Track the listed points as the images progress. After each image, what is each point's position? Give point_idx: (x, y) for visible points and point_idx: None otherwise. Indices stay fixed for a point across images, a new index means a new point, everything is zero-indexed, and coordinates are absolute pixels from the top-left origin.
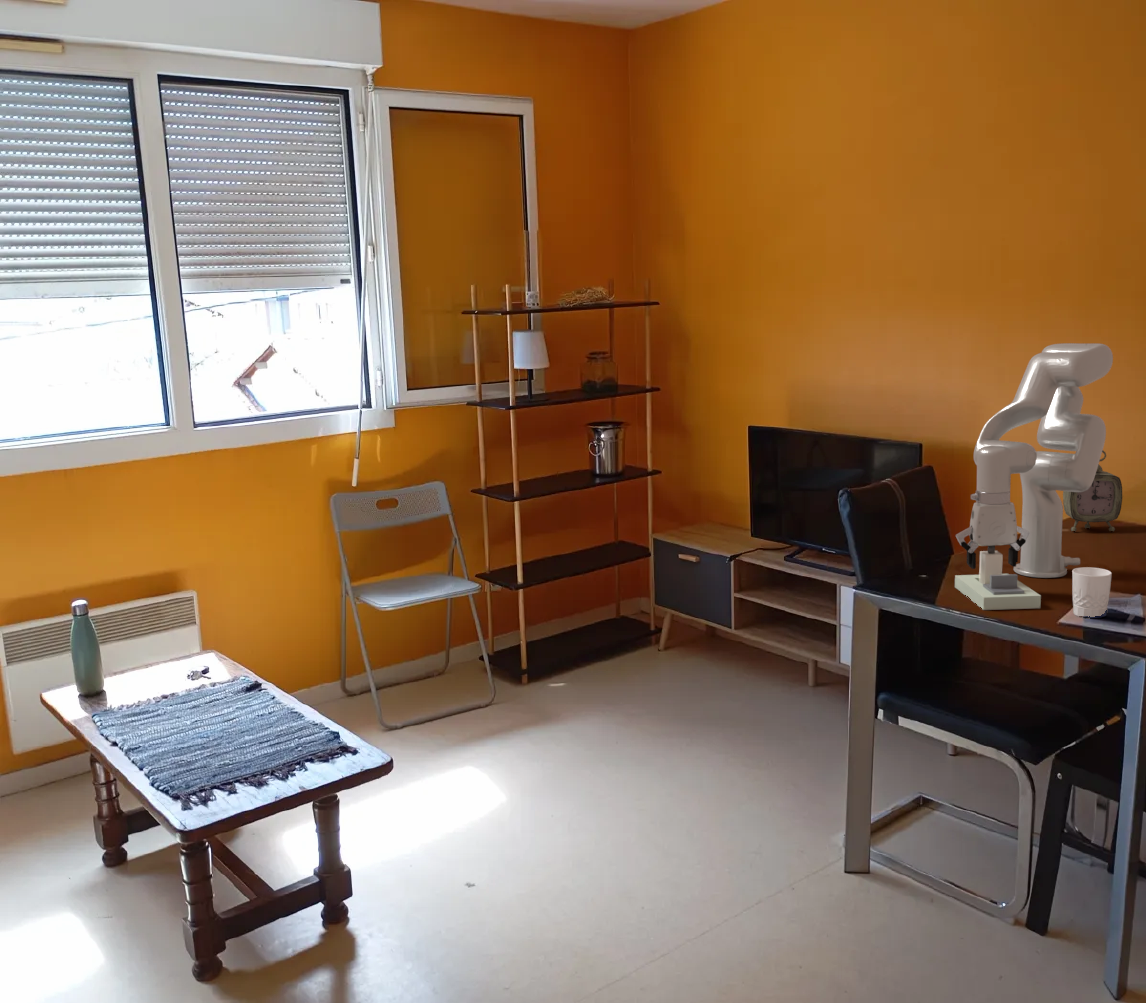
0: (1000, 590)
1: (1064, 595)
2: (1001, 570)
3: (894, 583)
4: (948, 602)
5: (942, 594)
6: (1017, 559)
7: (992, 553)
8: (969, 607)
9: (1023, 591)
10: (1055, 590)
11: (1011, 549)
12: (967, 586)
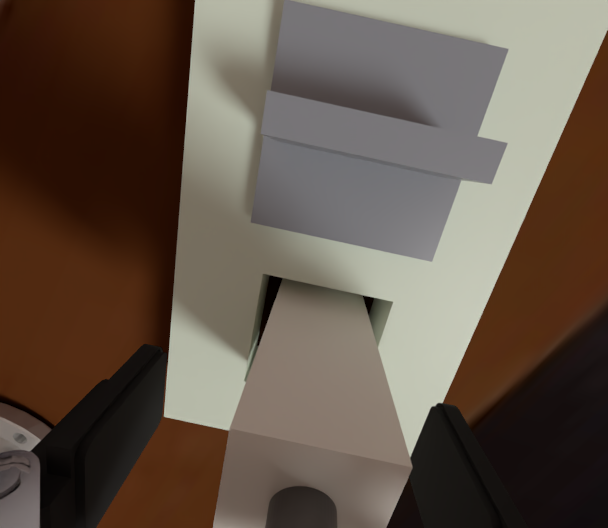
0: (434, 75)
1: (15, 167)
2: (267, 333)
3: (573, 525)
4: (598, 239)
5: (520, 356)
6: (94, 389)
7: (308, 490)
8: (575, 120)
9: (290, 3)
10: (27, 253)
11: (73, 506)
12: (478, 310)
